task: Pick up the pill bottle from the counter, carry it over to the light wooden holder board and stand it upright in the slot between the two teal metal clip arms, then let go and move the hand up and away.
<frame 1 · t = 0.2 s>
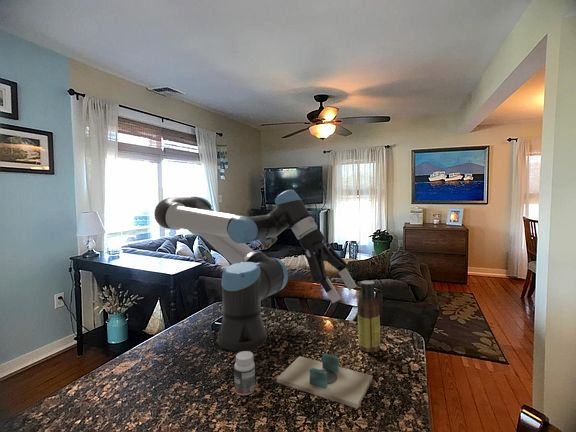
hand: (345, 294, 96), 15 cm above the counter, tool tilted 35°, fingers open, 13 cm apart
pill bottle: (244, 390, 75), on the counter
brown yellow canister: (368, 349, 93), on the counter
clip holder: (324, 380, 78), on the counter
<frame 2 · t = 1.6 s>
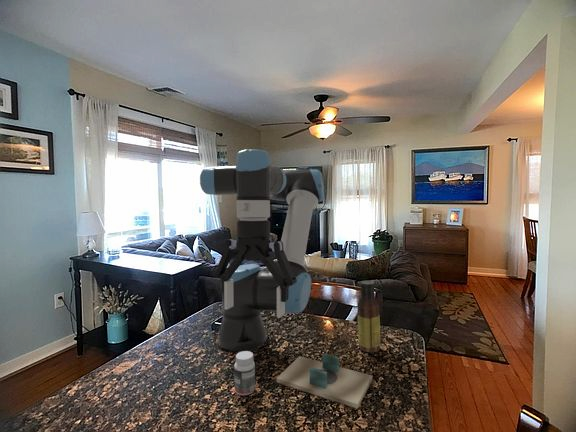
hand: (254, 311, 74), 18 cm above the counter, tool pointing down, fingers open, 13 cm apart
nothing on the counter moved.
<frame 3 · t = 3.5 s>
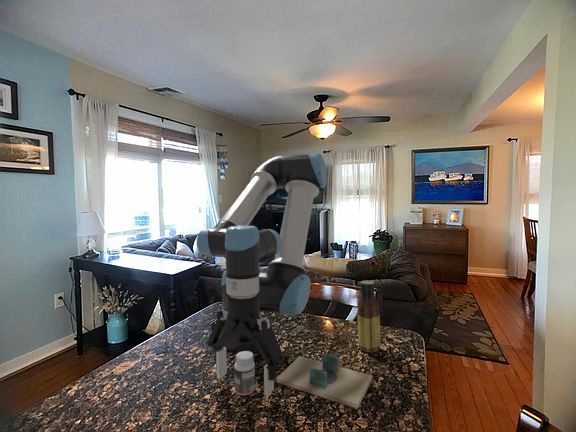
hand: (244, 383, 74), 1 cm above the counter, tool pointing down, fingers open, 13 cm apart
nothing on the counter moved.
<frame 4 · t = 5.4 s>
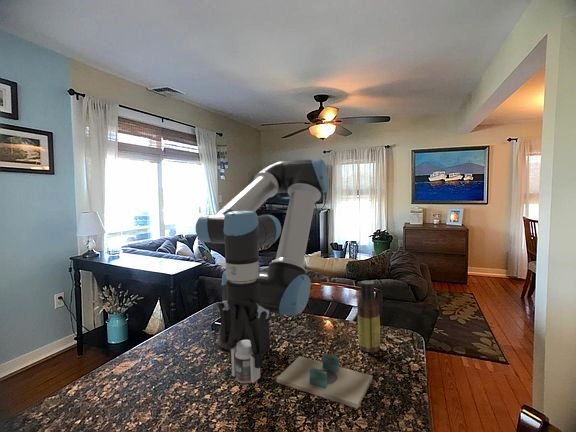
hand: (246, 376, 75), 3 cm above the counter, tool pointing down, fingers closed on pill bottle, 5 cm apart
pill bottle: (246, 378, 75), point 2 cm above the counter, touching gripper
everything else where it was.
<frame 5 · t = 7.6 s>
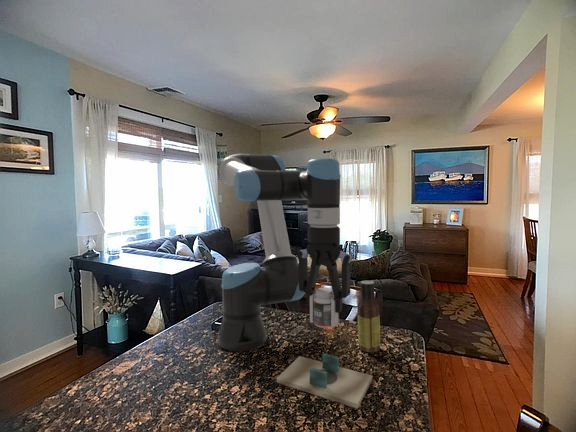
hand: (324, 322, 76), 15 cm above the counter, tool pointing down, fingers closed on pill bottle, 5 cm apart
pill bottle: (323, 325, 76), point 14 cm above the counter, touching gripper
everything else where it was.
when the fingers open (2 cm above the counter, at t = 10.0 s): pill bottle stays where it is, resting on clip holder.
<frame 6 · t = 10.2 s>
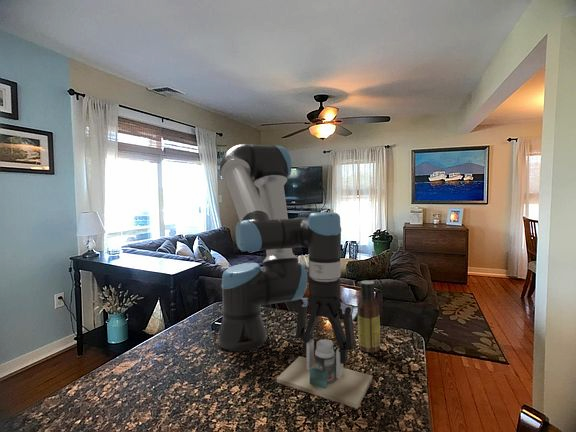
hand: (324, 370, 77), 3 cm above the counter, tool pointing down, fingers open, 7 cm apart
pill bottle: (324, 377, 78), point 1 cm above the counter, touching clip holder
everything else where it was.
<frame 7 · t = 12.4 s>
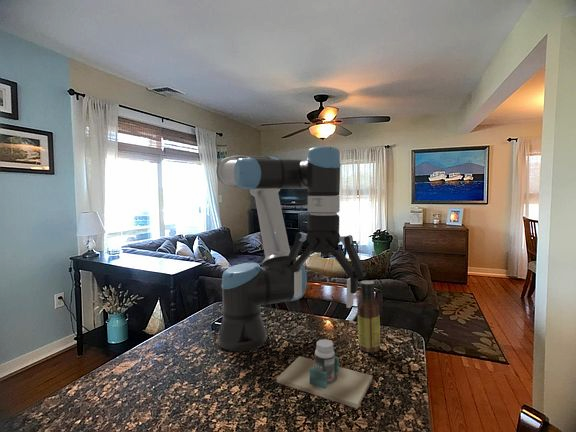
hand: (322, 301, 78), 19 cm above the counter, tool pointing down, fingers open, 13 cm apart
nothing on the counter moved.
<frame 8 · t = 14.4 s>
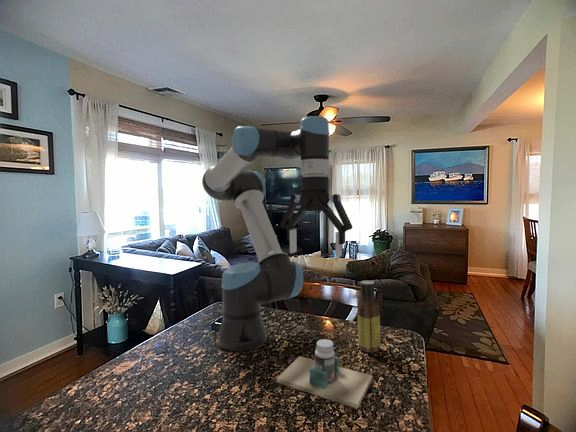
hand: (315, 254, 88), 29 cm above the counter, tool pointing down, fingers open, 13 cm apart
nothing on the counter moved.
at the end: pill bottle 0.1 cm off-centre on the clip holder, point 1.0 cm above the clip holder's base; pill bottle tilted 0°; the gripper is holding nothing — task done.
